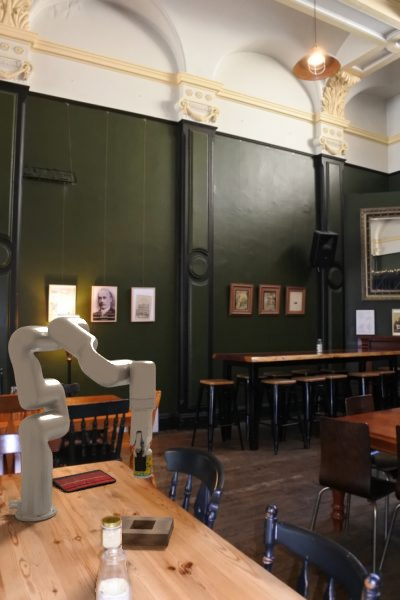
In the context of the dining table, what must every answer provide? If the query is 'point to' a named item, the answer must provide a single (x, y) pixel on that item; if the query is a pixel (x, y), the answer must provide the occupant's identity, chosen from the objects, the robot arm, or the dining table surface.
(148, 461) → the supplement bottle
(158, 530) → the socket block
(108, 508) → the dining table surface
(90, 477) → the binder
